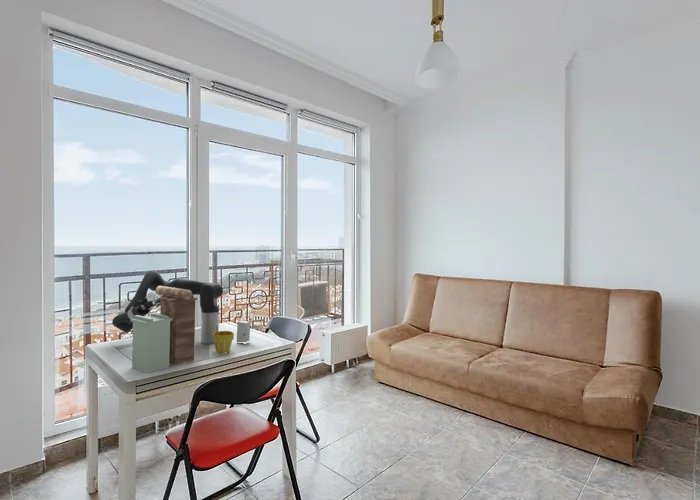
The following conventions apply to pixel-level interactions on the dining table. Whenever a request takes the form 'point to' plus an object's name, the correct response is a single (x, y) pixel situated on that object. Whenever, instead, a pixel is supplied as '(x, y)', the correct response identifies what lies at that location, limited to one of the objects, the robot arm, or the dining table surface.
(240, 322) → the skincare box
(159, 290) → the tan roll
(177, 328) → the walnut tub
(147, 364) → the pale green lidded tub
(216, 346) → the plant pot
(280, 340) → the dining table surface
